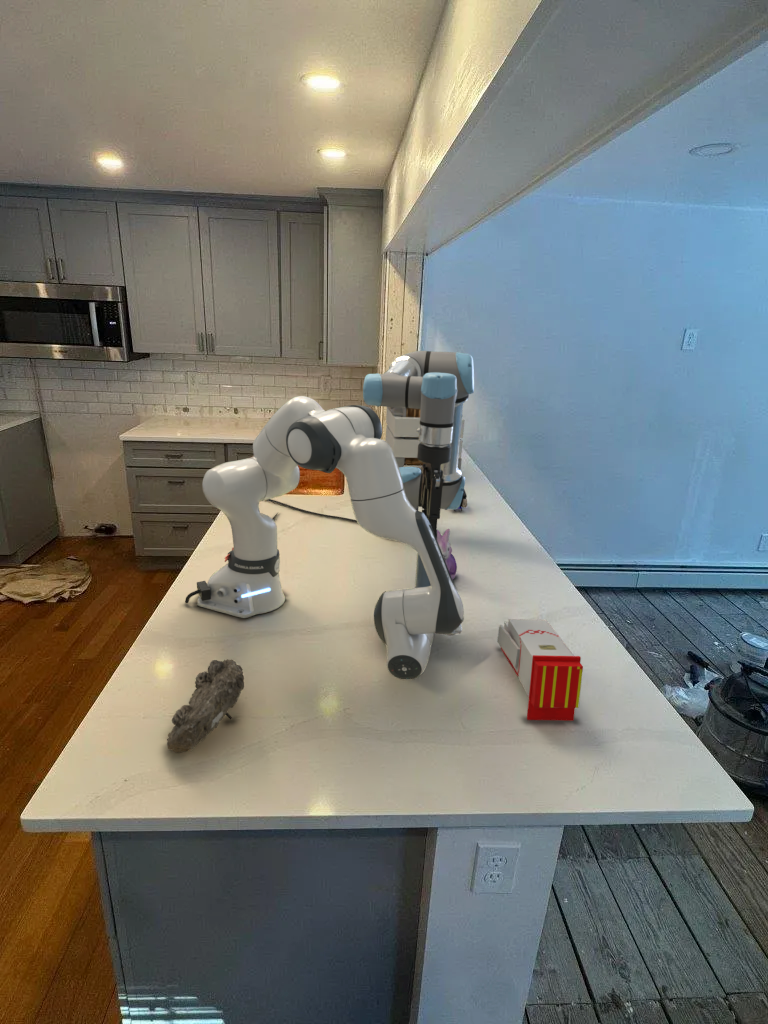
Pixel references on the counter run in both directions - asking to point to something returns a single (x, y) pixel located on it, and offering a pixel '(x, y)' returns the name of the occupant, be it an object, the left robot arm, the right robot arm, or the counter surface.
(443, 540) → the figurine
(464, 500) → the figurine character
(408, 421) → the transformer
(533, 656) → the toy
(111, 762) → the counter surface
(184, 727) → the fossil
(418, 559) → the bottle
